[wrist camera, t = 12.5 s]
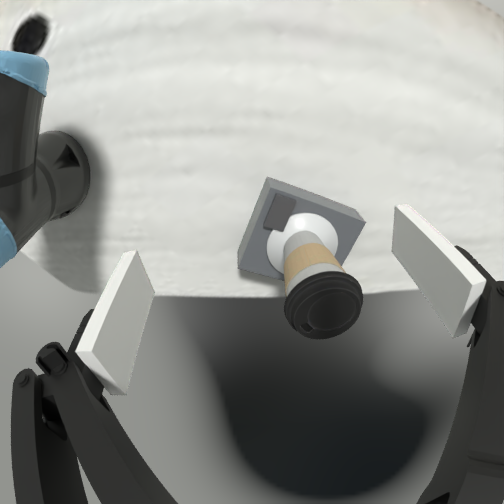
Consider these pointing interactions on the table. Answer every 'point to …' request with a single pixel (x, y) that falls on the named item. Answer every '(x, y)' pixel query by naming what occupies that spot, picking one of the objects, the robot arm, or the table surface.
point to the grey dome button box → (294, 227)
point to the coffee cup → (318, 289)
